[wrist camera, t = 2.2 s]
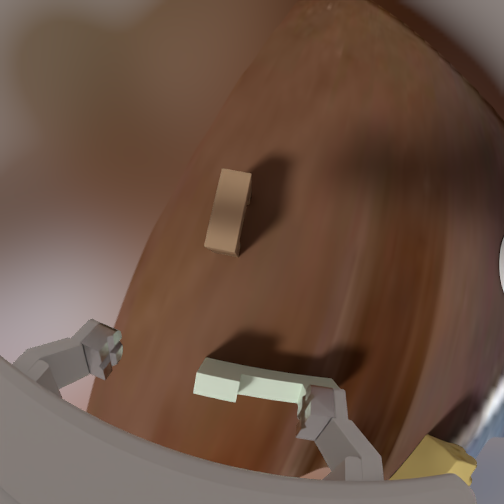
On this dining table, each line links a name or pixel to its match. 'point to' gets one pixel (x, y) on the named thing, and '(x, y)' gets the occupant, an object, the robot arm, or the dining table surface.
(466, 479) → the cheese
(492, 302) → the dining table surface
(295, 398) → the slotted board
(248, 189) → the cross-piece
